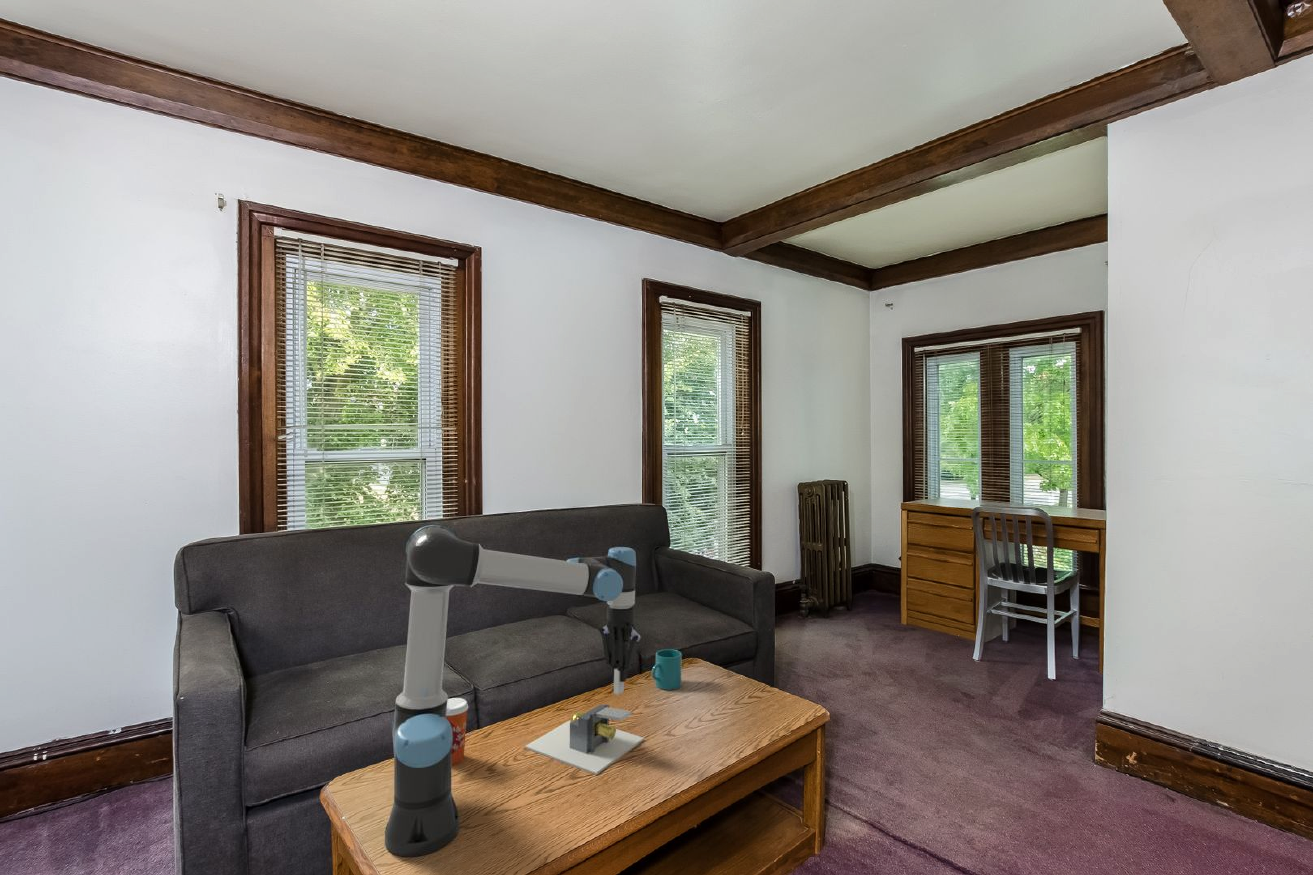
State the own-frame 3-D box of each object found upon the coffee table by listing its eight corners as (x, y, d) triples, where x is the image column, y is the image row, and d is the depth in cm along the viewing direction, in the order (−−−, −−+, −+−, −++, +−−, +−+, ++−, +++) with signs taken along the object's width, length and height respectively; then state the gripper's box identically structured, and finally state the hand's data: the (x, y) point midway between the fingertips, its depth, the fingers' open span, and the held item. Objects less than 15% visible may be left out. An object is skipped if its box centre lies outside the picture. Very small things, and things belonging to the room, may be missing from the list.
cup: (643, 686, 213) (644, 654, 213) (669, 678, 221) (669, 647, 221) (660, 695, 206) (660, 661, 206) (686, 686, 214) (686, 653, 214)
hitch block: (569, 747, 169) (569, 710, 169) (592, 733, 177) (592, 697, 177) (589, 754, 165) (589, 716, 165) (611, 739, 174) (611, 703, 174)
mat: (596, 774, 156) (596, 772, 156) (525, 748, 170) (525, 745, 170) (643, 739, 175) (643, 737, 175) (576, 718, 188) (576, 716, 188)
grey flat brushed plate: (595, 713, 167) (620, 717, 163) (606, 706, 172) (631, 711, 167) (595, 716, 167) (620, 721, 163) (606, 709, 172) (631, 714, 167)
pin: (569, 733, 172) (570, 715, 172) (581, 726, 176) (581, 708, 177) (606, 746, 165) (606, 727, 165) (618, 738, 170) (618, 719, 170)
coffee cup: (458, 769, 159) (458, 711, 159) (429, 765, 160) (429, 708, 160) (474, 753, 167) (474, 698, 167) (446, 749, 169) (447, 695, 169)
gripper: (648, 606, 166) (646, 693, 166) (610, 598, 173) (608, 682, 173) (632, 612, 160) (630, 702, 159) (593, 604, 167) (591, 691, 166)
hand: (618, 692), depth 166 cm, fingers closed
